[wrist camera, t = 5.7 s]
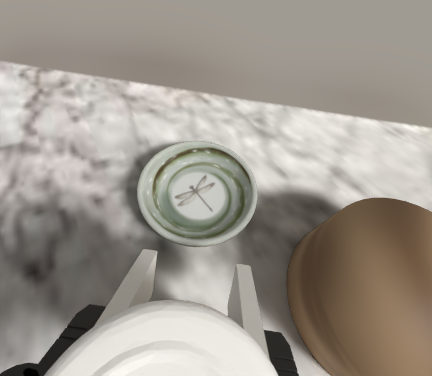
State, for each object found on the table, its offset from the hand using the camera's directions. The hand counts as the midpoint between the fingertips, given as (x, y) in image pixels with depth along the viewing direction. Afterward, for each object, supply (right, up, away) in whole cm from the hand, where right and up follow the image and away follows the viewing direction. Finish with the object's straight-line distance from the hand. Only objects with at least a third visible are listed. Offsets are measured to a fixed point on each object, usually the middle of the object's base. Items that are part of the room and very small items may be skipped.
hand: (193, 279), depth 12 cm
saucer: (0, +4, +8) cm, 9 cm away
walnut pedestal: (+12, -3, +5) cm, 14 cm away
